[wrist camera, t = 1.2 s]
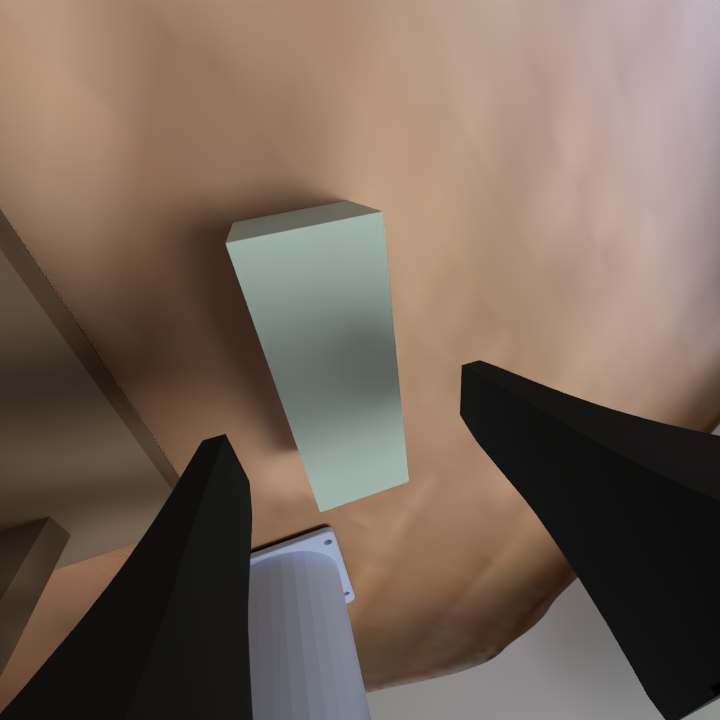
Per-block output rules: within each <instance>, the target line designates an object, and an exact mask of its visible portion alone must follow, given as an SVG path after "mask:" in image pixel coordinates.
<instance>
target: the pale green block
mask: <svg viewBox="0 0 720 720" xmlns="http://www.w3.org/2000/svg"><path fill="white" fill-rule="evenodd" d="M226 246H227V249H228V252H229V255H230V258H231V260H232V263H233V266H234V269H235V272H236V275H237V278H238V280H239V283H240V286H241V289H242V292H243V295H244V297H245V300H246V303H247V306H248V309H249V312H250V314H251V317H252V320H253V323H254V326H255V329H256V331H257V334H258V337H259V340H260V343H261V346H262V349H263V351H264V354H265V357H266V360H267V363H268V366H269V368H270V371H271V374H272V377H273V380H274V383H275V385H276V388H277V391H278V394H279V397H280V400H281V402H282V405H283V408H284V411H285V414H286V417H287V419H288V422H289V425H290V428H291V431H292V434H293V437H294V439H295V442H296V445H297V448H298V451H299V454H300V456H301V459H302V462H303V465H304V468H305V471H306V473H307V476H308V479H309V482H310V485H311V488H312V490H313V493H314V496H315V499H316V502H317V505H318V508H319V510H320V512H323V511H326V510H329V509H332V508H334V507H337V506H340V505H343V504H346V503H349V502H352V501H354V500H357V499H360V498H363V497H366V496H369V495H372V494H374V493H377V492H380V491H383V490H386V489H389V488H392V487H395V486H397V485H400V484H403V483H406V482H409V479H408V469H407V459H406V448H405V438H404V428H403V418H402V407H401V397H400V387H399V376H398V366H397V356H396V346H395V335H394V325H393V315H392V305H391V294H390V284H389V274H388V263H387V253H386V243H385V233H384V222H383V212H382V211H379V210H376V209H373V208H370V207H367V206H363V205H360V204H357V203H354V202H351V201H342V202H337V203H331V204H326V205H321V206H316V207H311V208H306V209H300V210H295V211H290V212H285V213H280V214H274V215H269V216H264V217H259V218H254V219H248V220H243V221H238V222H233V224H232V227H231V230H230V232H229V235H228V238H227V240H226Z"/></svg>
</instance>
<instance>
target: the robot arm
mask: <svg viewBox="0 0 720 720" xmlns="http://www.w3.org/2000/svg"><path fill="white" fill-rule="evenodd" d="M460 415H461V417H462V419H463V420H464V422H465V424H466V425H467V427H468V429H469V430H470V432H471V433H472V435H473V436H474V438H475V439H476V441H477V442H478V443H479V445H480V446H481V447H482V448H483V450H484V451H485V452H486V453H487V455H488V456H489V457H490V458H491V459H492V461H493V462H494V463H495V464H496V466H497V467H498V468H499V469H500V470H501V472H502V473H503V474H504V475H505V476H506V478H507V479H508V480H509V481H510V482H511V484H512V485H513V486H514V487H515V488H516V490H517V491H518V492H519V493H520V494H521V496H522V497H523V498H524V499H525V500H526V502H527V503H528V504H529V506H530V507H531V508H532V509H533V511H534V512H535V513H536V515H537V516H538V518H539V519H540V521H541V522H542V523H543V525H544V526H545V528H546V529H547V531H548V532H549V534H550V535H551V537H552V538H553V539H554V541H555V542H556V544H557V545H558V547H559V548H560V550H561V551H562V553H563V555H564V556H565V558H566V559H567V561H568V562H569V564H570V565H571V567H572V568H573V570H574V571H575V573H576V574H577V576H578V578H579V579H580V581H581V582H582V584H583V586H584V587H585V589H586V590H587V592H588V594H589V595H590V597H591V599H592V600H593V602H594V603H595V605H596V607H597V608H598V610H599V612H600V613H601V615H602V616H603V618H604V619H605V621H606V622H607V625H608V626H609V628H610V630H611V632H612V633H613V635H614V637H615V639H616V640H617V642H618V643H619V646H620V647H621V649H622V651H623V652H624V654H625V656H626V658H627V659H628V661H629V663H630V665H631V666H632V668H633V670H634V672H635V673H636V675H637V677H638V679H639V681H640V682H641V684H642V686H643V688H644V690H645V692H646V694H647V695H648V697H649V698H650V700H651V701H652V702H653V703H654V705H655V706H656V708H657V709H658V710H659V712H660V713H661V714H662V716H663V717H664V718H665V720H681V719H683V718H684V717H686V716H688V715H690V714H691V713H693V712H695V711H697V710H699V709H701V708H703V707H704V706H706V705H708V704H710V703H712V702H714V701H715V700H717V699H719V698H720V436H718V435H713V434H708V433H703V432H699V431H694V430H690V429H686V428H681V427H677V426H672V425H668V424H664V423H660V422H656V421H652V420H648V419H644V418H641V417H637V416H634V415H630V414H627V413H623V412H620V411H616V410H613V409H610V408H606V407H603V406H600V405H597V404H594V403H591V402H588V401H585V400H582V399H580V398H577V397H574V396H571V395H568V394H565V393H563V392H560V391H557V390H555V389H552V388H549V387H547V386H544V385H542V384H539V383H537V382H534V381H532V380H529V379H527V378H524V377H522V376H519V375H517V374H514V373H512V372H509V371H507V370H504V369H502V368H499V367H497V366H494V365H492V364H489V363H486V362H483V361H480V360H479V361H475V362H472V363H468V364H465V365H462V375H461V401H460ZM251 534H252V507H251V494H250V483H249V480H248V478H247V476H246V474H245V472H244V470H243V468H242V466H241V464H240V462H239V460H238V458H237V456H236V454H235V452H234V450H233V448H232V446H231V444H230V442H229V440H228V438H227V436H226V434H224V435H220V436H217V437H213V438H210V439H206V440H203V441H202V443H201V444H200V446H199V447H198V449H197V451H196V452H195V454H194V456H193V457H192V459H191V461H190V462H189V464H188V466H187V467H186V469H185V471H184V473H183V474H182V476H181V478H180V479H179V481H178V483H177V484H176V486H175V488H174V489H173V491H172V492H171V494H170V496H169V497H168V499H167V500H166V502H165V504H164V505H163V507H162V508H161V510H160V512H159V513H158V515H157V516H156V518H155V519H154V521H153V523H152V524H151V526H150V527H149V528H148V530H147V531H146V533H145V534H144V536H143V537H142V539H141V540H140V542H139V543H138V545H137V546H136V548H135V549H134V551H133V552H132V553H131V555H130V556H129V558H128V559H127V561H126V562H125V563H124V565H123V566H122V568H121V569H120V570H119V572H118V573H117V574H116V576H115V577H114V578H113V580H112V581H111V582H110V584H109V585H108V586H107V588H106V589H105V590H104V591H103V593H102V594H101V595H100V597H99V598H98V599H97V600H96V602H95V603H94V604H93V606H92V607H91V608H90V609H89V611H88V612H87V613H86V614H85V616H84V617H83V618H82V619H81V621H80V622H79V623H78V624H77V626H76V627H75V628H74V629H73V630H72V631H71V633H70V634H69V635H68V636H67V637H66V639H65V640H64V641H63V642H62V643H61V644H60V646H59V647H58V648H57V649H56V650H55V651H54V653H53V654H52V655H51V656H50V657H49V658H48V660H47V661H46V662H45V663H44V664H43V666H42V667H41V668H40V669H39V670H38V671H37V673H36V674H35V675H34V676H33V677H32V678H31V680H30V681H29V682H28V683H27V684H26V686H25V687H24V688H23V689H22V690H21V691H20V692H19V693H18V695H17V696H16V697H15V698H14V699H13V700H12V701H11V702H10V704H9V705H8V706H7V707H6V708H5V709H4V710H3V711H2V712H1V713H0V720H371V717H370V713H369V708H368V704H367V699H366V694H365V690H364V685H363V680H362V676H361V671H360V666H359V662H358V657H357V652H356V648H355V643H354V638H353V634H352V629H351V624H350V620H349V615H348V611H347V606H346V604H347V603H349V602H351V601H352V600H353V599H354V597H355V596H354V592H353V589H352V586H351V583H350V580H349V577H348V574H347V571H346V568H345V565H344V561H343V558H342V555H341V552H340V549H339V546H338V543H337V540H336V537H335V534H334V531H333V529H332V528H330V527H325V528H322V529H319V530H316V531H313V532H311V533H308V534H305V535H302V536H299V537H296V538H294V539H291V540H288V541H285V542H282V543H279V544H277V545H274V546H271V547H268V548H265V549H263V550H260V551H257V552H254V553H251Z"/></svg>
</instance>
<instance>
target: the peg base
mask: <svg viewBox="0 0 720 720" xmlns="http://www.w3.org/2000/svg"><path fill="white" fill-rule="evenodd" d="M179 479H180V477H179V476H178V474H177V473H176V471H175V470H174V468H173V467H172V465H171V464H170V462H169V461H168V459H167V458H166V456H165V455H164V453H163V452H162V450H161V449H160V447H159V446H158V444H157V443H156V441H155V440H154V438H153V437H152V435H151V434H150V432H149V431H148V429H147V428H146V426H145V425H144V423H143V422H142V420H141V419H140V417H139V416H138V414H137V413H136V411H135V410H134V408H133V407H132V406H131V404H130V403H129V401H128V400H127V398H126V397H125V395H124V394H123V392H122V391H121V389H120V388H119V386H118V385H117V383H116V382H115V380H114V379H113V377H112V376H111V374H110V373H109V371H108V370H107V368H106V367H105V365H104V364H103V362H102V361H101V359H100V358H99V356H98V355H97V353H96V352H95V350H94V349H93V347H92V346H91V344H90V343H89V341H88V340H87V338H86V337H85V335H84V334H83V332H82V331H81V329H80V328H79V327H78V325H77V324H76V322H75V321H74V319H73V318H72V316H71V315H70V313H69V312H68V310H67V309H66V307H65V306H64V304H63V303H62V301H61V300H60V298H59V297H58V295H57V294H56V292H55V291H54V289H53V288H52V286H51V285H50V283H49V282H48V280H47V279H46V277H45V276H44V274H43V273H42V271H41V270H40V268H39V267H38V265H37V264H36V262H35V261H34V259H33V258H32V256H31V255H30V253H29V252H28V251H27V249H26V248H25V246H24V245H23V243H22V242H21V240H20V239H19V237H18V236H17V234H16V233H15V231H14V230H13V228H12V227H11V225H10V224H9V222H8V221H7V219H6V218H5V216H4V215H3V213H2V212H1V210H0V676H1V674H2V672H3V670H4V668H5V666H6V664H7V662H8V660H9V658H10V656H11V654H12V652H13V650H14V648H15V646H16V644H17V642H18V640H19V638H20V636H21V634H22V632H23V630H24V628H25V626H26V624H27V622H28V620H29V618H30V616H31V614H32V612H33V610H34V608H35V606H36V604H37V602H38V600H39V598H40V596H41V594H42V592H43V590H44V588H45V586H46V584H47V582H48V580H49V578H50V576H51V574H52V572H53V570H56V569H59V568H62V567H65V566H68V565H71V564H74V563H77V562H80V561H83V560H86V559H89V558H92V557H95V556H98V555H101V554H104V553H107V552H110V551H113V550H116V549H119V548H122V547H125V546H128V545H131V544H135V543H138V542H140V540H141V539H142V537H143V536H144V534H145V533H146V531H147V530H148V528H149V527H150V526H151V524H152V523H153V521H154V519H155V518H156V516H157V515H158V513H159V512H160V510H161V508H162V507H163V505H164V504H165V502H166V500H167V499H168V497H169V496H170V494H171V492H172V491H173V489H174V488H175V486H176V484H177V483H178V481H179Z"/></svg>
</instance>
